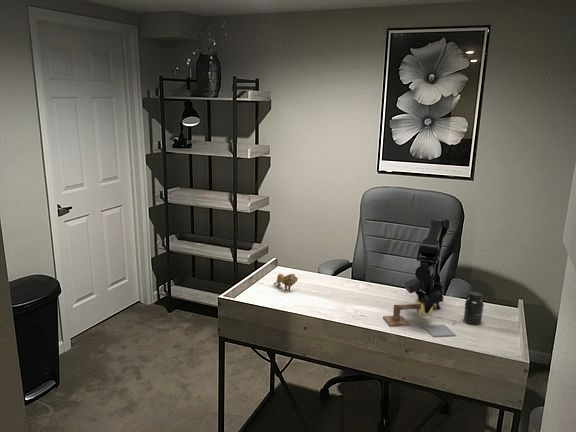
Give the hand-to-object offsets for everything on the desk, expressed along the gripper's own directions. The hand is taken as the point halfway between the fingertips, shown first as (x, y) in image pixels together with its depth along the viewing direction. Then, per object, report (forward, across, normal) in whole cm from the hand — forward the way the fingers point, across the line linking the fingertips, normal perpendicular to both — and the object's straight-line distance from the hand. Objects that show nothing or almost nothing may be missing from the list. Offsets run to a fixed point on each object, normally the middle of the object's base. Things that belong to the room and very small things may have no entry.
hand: (423, 310), depth 193 cm
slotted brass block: (+2, 0, 0) cm, 2 cm away
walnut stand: (+5, 0, -5) cm, 7 cm away
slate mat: (+4, +10, +2) cm, 11 cm away
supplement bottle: (+5, +3, +20) cm, 21 cm away
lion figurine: (+5, -41, -50) cm, 65 cm away
